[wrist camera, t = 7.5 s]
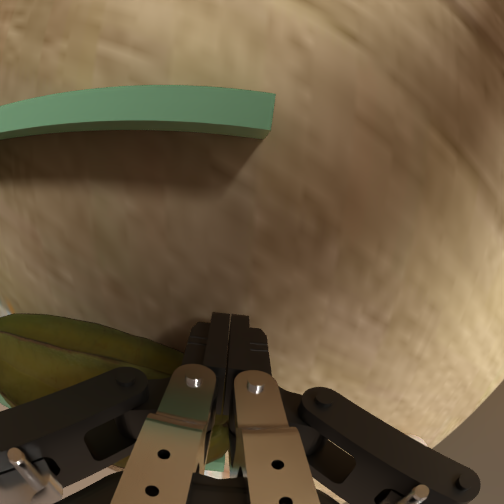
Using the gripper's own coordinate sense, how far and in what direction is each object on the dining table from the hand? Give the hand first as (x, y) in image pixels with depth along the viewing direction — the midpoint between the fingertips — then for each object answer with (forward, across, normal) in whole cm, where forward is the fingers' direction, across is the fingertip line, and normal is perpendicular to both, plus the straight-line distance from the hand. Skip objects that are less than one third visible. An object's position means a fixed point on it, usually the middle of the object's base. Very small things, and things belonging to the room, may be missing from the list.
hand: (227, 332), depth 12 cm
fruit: (+2, +6, +3) cm, 7 cm away
